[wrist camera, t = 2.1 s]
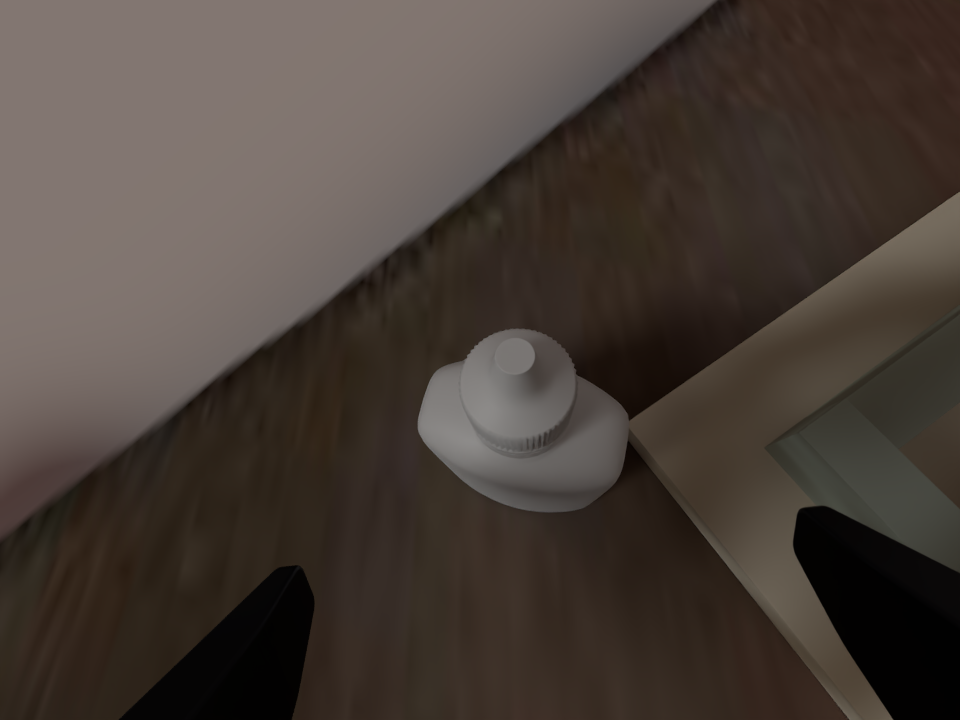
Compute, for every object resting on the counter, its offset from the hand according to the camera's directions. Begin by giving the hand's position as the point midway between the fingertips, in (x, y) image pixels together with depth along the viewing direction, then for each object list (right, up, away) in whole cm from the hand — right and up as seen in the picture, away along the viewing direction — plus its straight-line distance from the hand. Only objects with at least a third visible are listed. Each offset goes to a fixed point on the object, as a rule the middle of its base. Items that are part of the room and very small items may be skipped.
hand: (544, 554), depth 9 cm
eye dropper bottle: (+1, -1, +11) cm, 11 cm away
